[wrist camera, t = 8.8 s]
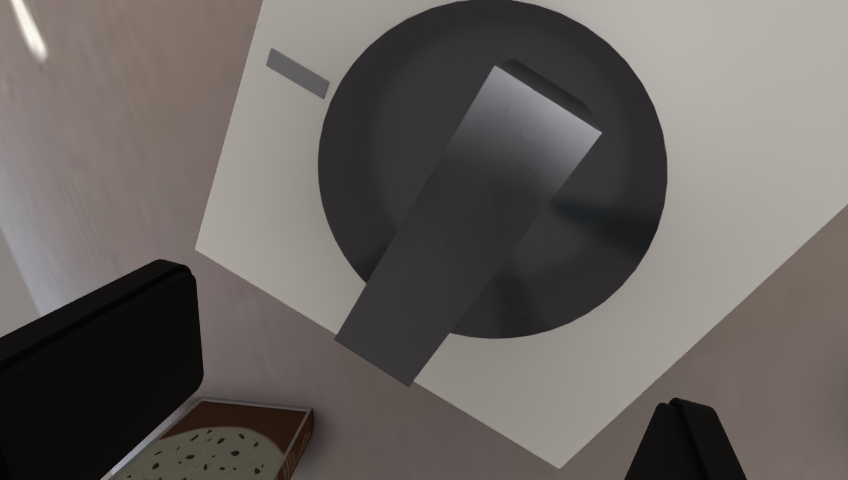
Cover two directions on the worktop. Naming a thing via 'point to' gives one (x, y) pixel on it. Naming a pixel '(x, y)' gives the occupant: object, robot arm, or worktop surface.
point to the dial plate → (679, 225)
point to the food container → (225, 443)
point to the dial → (486, 178)
